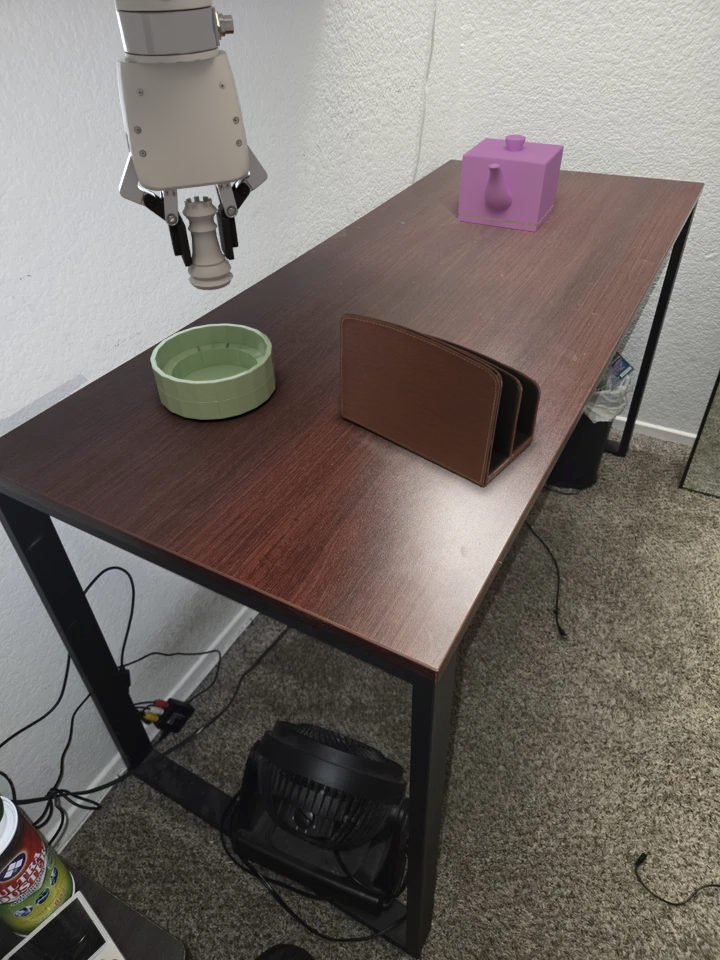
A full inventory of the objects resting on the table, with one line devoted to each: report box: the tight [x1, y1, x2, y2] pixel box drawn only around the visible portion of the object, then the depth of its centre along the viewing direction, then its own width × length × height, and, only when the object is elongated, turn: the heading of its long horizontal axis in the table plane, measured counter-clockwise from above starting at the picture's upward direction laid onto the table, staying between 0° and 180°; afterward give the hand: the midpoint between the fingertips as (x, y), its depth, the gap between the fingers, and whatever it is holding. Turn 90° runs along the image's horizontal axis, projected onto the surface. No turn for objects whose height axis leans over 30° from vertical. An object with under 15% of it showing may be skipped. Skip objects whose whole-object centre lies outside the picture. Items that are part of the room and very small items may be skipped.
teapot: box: [457, 134, 565, 233], centre depth 122 cm, size 15×25×14 cm, turn 153°
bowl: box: [149, 323, 277, 421], centre depth 80 cm, size 14×14×6 cm
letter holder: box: [339, 313, 542, 488], centre depth 70 cm, size 10×20×14 cm, turn 49°
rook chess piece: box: [181, 195, 234, 291], centre depth 64 cm, size 4×4×8 cm
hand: (207, 256), depth 65 cm, fingers closed on rook chess piece, 3 cm apart
